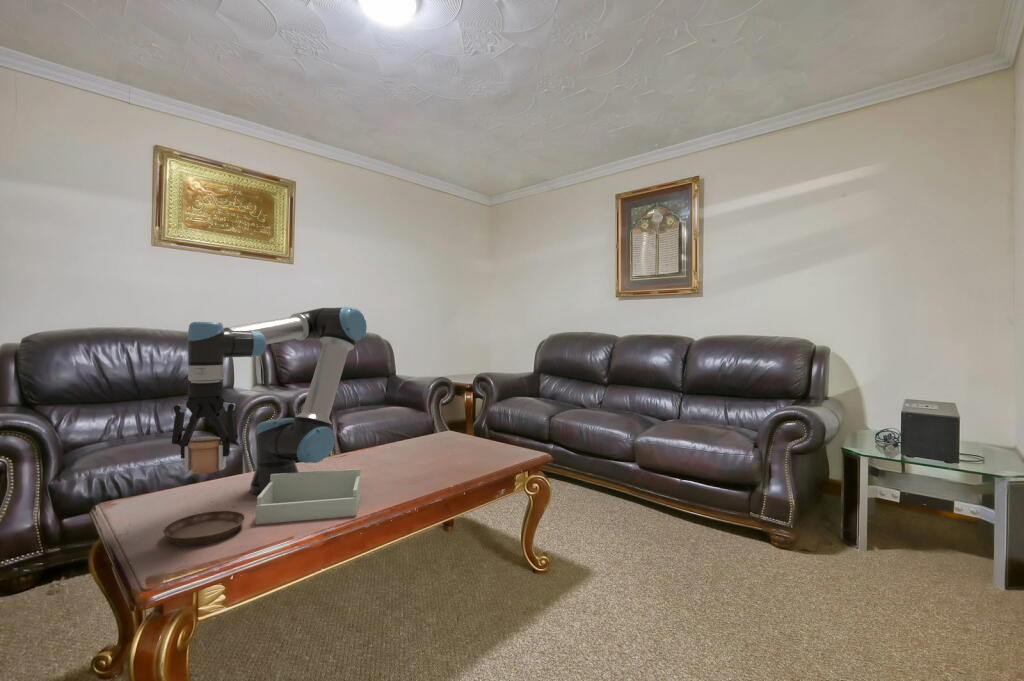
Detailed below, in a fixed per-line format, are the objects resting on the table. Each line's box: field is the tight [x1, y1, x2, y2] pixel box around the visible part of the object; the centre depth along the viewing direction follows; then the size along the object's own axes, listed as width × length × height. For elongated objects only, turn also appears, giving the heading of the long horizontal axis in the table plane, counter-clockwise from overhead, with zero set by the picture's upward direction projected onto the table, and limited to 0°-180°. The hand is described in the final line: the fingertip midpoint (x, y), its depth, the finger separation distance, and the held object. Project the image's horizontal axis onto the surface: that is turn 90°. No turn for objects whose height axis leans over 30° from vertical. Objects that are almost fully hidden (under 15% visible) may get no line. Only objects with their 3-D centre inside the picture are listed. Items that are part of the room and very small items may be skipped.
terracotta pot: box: [188, 436, 222, 475], centre depth 119 cm, size 7×7×8 cm
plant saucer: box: [162, 510, 246, 546], centre depth 119 cm, size 18×18×3 cm
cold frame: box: [255, 468, 361, 525], centre depth 135 cm, size 16×26×9 cm, turn 105°
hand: (205, 469), depth 119 cm, fingers closed on terracotta pot, 7 cm apart
